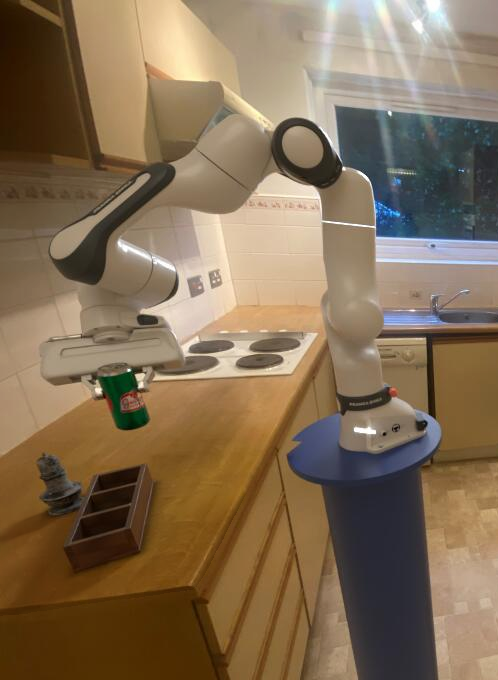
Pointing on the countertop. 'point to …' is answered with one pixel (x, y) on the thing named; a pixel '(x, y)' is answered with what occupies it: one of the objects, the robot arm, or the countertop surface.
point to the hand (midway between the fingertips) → (122, 395)
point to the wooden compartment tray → (110, 518)
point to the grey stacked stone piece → (58, 486)
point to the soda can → (123, 396)
